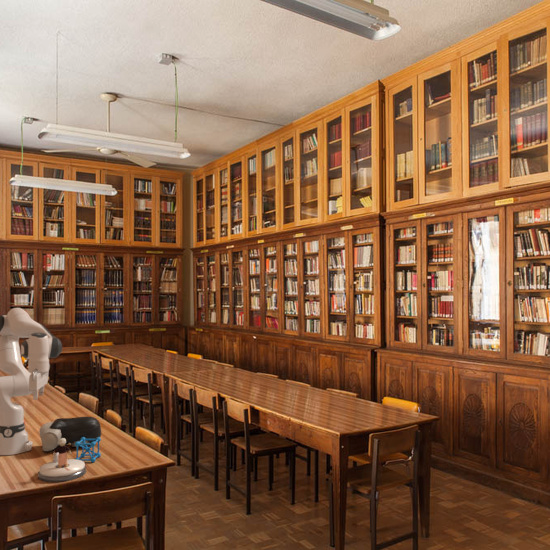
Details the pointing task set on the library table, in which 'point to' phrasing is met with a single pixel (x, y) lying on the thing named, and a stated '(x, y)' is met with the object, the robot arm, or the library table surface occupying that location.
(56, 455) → the turntable
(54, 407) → the library table surface
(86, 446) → the molecular structure
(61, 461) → the grandmother figurine
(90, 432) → the head bust
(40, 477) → the turntable base
